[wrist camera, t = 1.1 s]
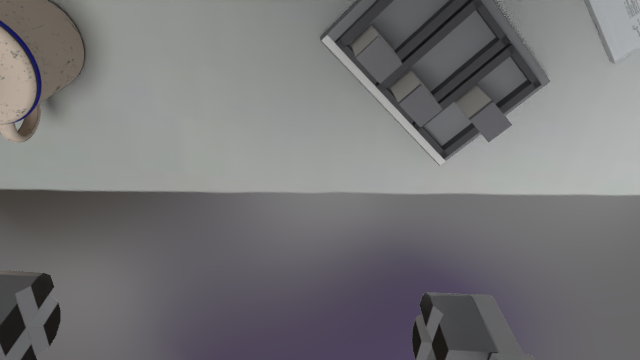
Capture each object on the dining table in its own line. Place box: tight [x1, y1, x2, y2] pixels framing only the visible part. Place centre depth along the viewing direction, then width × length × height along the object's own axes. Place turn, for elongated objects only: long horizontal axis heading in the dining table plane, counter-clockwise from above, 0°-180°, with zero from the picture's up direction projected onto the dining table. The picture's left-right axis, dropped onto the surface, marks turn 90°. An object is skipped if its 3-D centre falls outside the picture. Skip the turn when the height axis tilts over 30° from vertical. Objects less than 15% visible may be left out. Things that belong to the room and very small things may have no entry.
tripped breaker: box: [455, 84, 512, 142], centre depth 40 cm, size 2×3×5 cm
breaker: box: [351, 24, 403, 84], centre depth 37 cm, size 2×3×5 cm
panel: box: [320, 0, 550, 166], centre depth 40 cm, size 13×18×2 cm
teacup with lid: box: [0, 0, 84, 143], centre depth 35 cm, size 12×9×12 cm
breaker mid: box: [390, 68, 442, 127], centre depth 39 cm, size 2×3×5 cm
